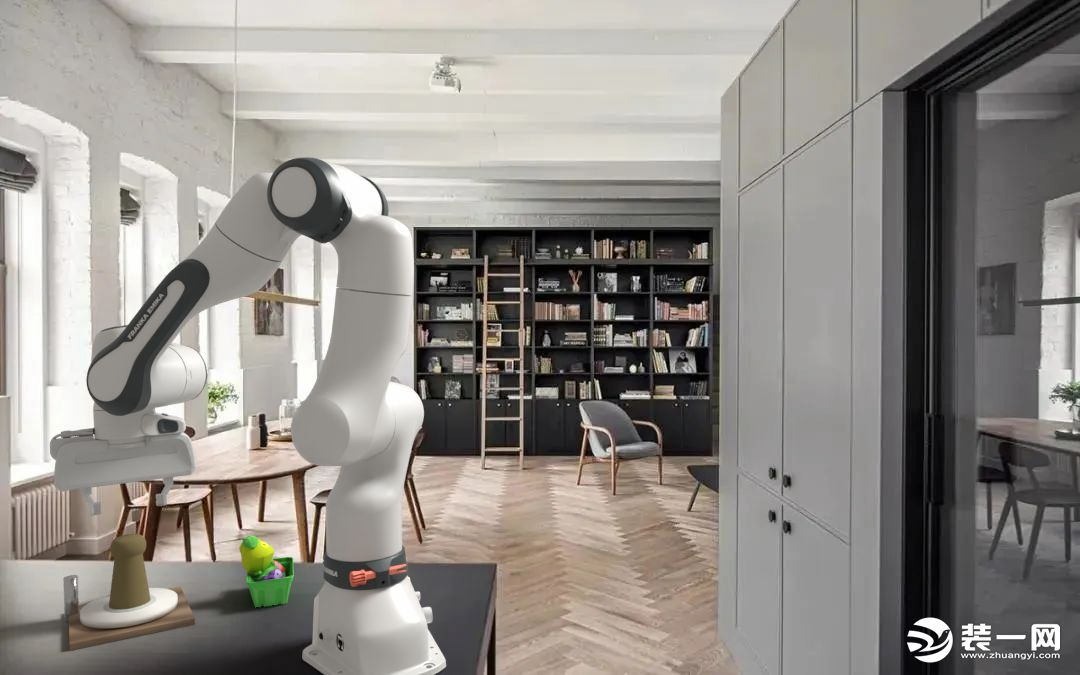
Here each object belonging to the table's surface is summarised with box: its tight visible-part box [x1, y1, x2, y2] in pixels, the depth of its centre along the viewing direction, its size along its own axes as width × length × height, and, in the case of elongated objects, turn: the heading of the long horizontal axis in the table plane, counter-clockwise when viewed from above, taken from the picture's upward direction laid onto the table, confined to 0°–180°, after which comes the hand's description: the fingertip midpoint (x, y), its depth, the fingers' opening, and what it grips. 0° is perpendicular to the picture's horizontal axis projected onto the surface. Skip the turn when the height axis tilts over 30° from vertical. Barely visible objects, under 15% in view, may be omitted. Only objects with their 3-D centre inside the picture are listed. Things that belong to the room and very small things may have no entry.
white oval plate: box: [80, 587, 178, 628], centre depth 124 cm, size 18×14×4 cm
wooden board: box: [68, 585, 196, 652], centre depth 123 cm, size 17×17×1 cm
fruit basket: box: [239, 535, 295, 609], centre depth 131 cm, size 11×9×11 cm
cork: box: [109, 533, 151, 609], centre depth 123 cm, size 6×6×11 cm
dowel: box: [62, 574, 80, 623], centre depth 122 cm, size 2×2×7 cm
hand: (129, 509), depth 122 cm, fingers open, 8 cm apart
